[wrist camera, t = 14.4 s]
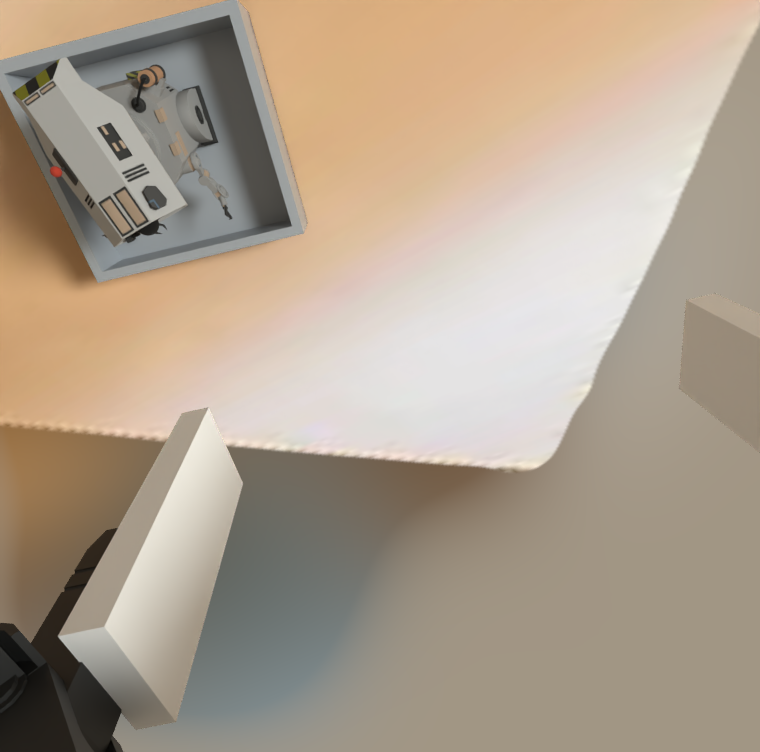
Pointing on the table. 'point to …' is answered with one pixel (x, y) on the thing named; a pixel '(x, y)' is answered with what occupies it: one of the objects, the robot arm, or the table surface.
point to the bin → (223, 159)
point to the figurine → (121, 144)
